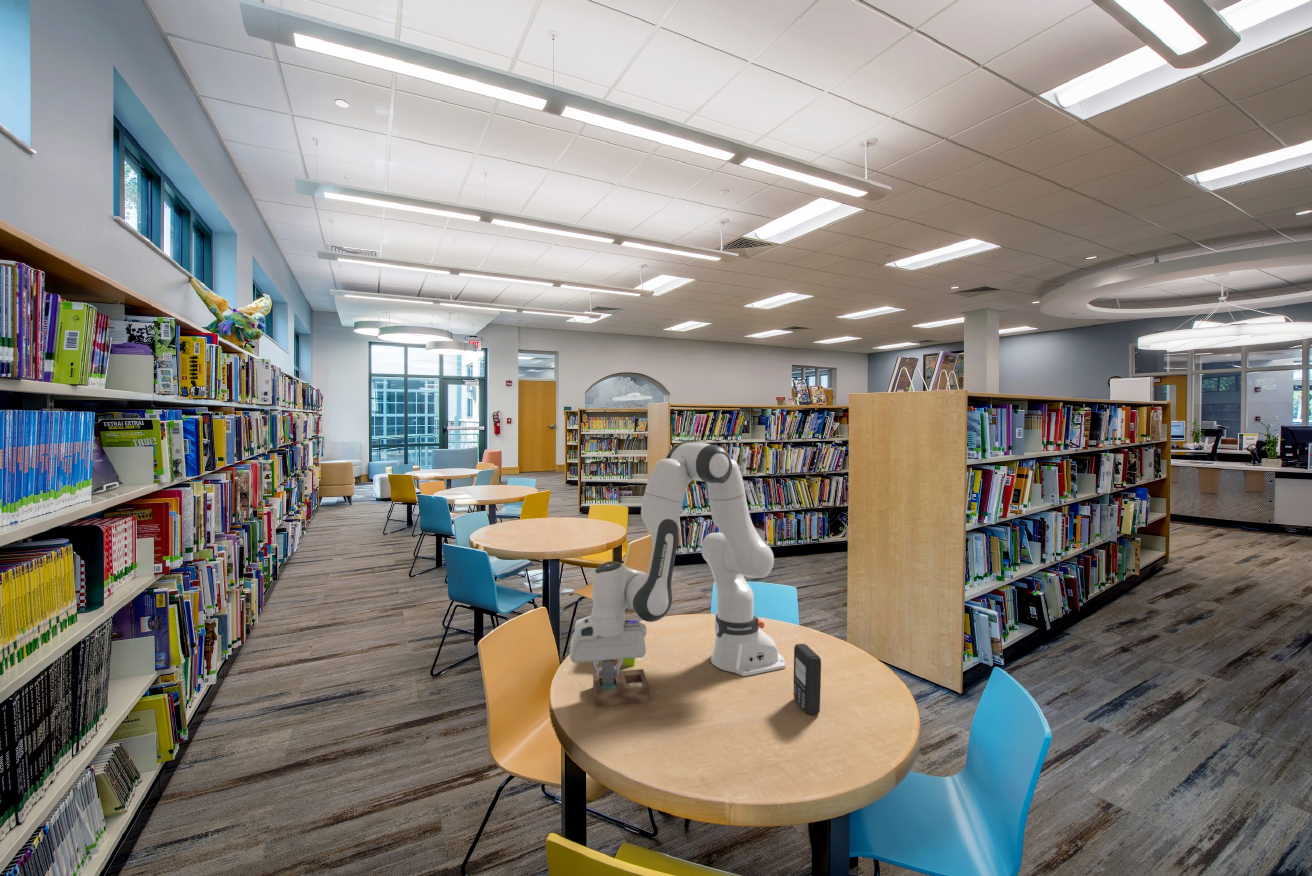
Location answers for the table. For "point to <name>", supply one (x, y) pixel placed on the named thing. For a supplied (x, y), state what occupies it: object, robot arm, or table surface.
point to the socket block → (622, 688)
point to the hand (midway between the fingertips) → (607, 674)
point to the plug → (608, 672)
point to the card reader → (807, 679)
